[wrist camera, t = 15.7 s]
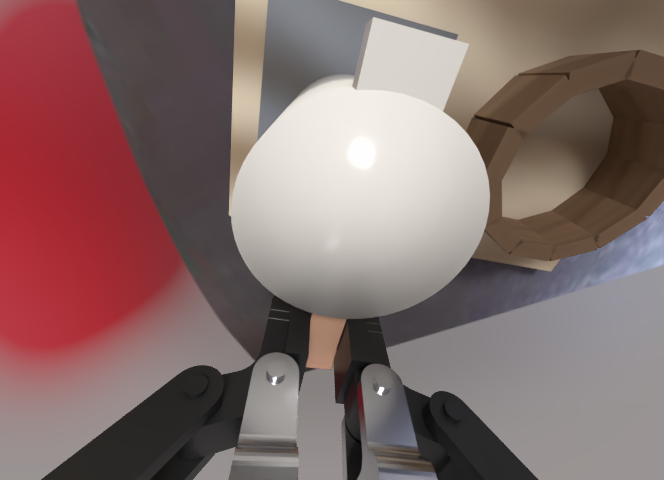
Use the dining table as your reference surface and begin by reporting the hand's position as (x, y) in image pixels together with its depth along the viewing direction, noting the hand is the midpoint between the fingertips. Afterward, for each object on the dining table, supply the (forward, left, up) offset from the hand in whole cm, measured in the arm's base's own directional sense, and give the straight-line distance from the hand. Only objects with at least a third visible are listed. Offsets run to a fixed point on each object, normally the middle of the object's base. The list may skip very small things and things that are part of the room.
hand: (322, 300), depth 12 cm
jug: (-4, 0, -7) cm, 8 cm away
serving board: (-8, +6, -9) cm, 13 cm away
